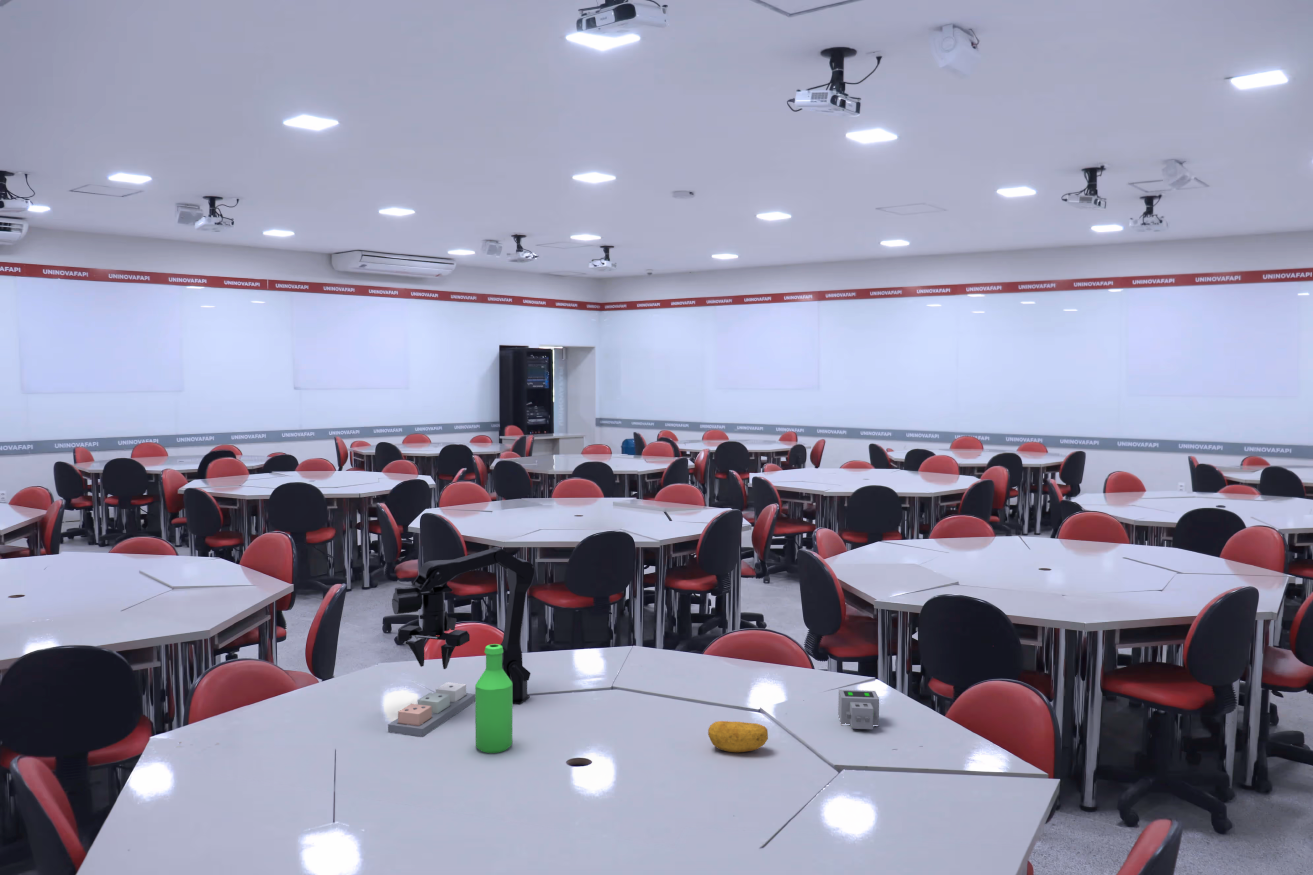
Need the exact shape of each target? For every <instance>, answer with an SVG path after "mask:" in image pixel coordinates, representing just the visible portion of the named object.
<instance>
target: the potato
mask: <svg viewBox="0 0 1313 875" xmlns="http://www.w3.org/2000/svg"><path fill="white" fill-rule="evenodd" d="M707 731H708V732H707V734H708V737H709V740H710V742H711V744H712V745H713V746H714V747H715V748H717V749H718V750H721V751H724V752H728V753H745V752H751V751H756V750H758V749H760V748H762V747H763V746H765V744H766V742H768V740H769V735H768V728H767V727H766V726H765V725H762V724H760V723H753V722H744V721H728V720H727V721H726V720H725V721H723V720H720V721H719V720H717V721H714V722H713V723H712V724H710V726H709V727H708V729H707Z"/></svg>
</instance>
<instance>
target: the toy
mask: <svg viewBox="0 0 1313 875" xmlns="http://www.w3.org/2000/svg"><path fill="white" fill-rule="evenodd" d="M837 703H838V704H837V705H838V706H837V708H838V709H837V710H838V712H837V713H838V714H837V716H838V715H839V717H838V719H839V718H840V720H839V723H840V722H841V723H840V725H841V724H845V723H846V724H850V725H851V726H850V728H851V729H858V730H874V727H873V725H880V724H879V723H880V698H879V695H878V694H877V692H876V690H863V689H862V690H861V689H860V690H859V689H838V702H837Z"/></svg>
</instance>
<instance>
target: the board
mask: <svg viewBox="0 0 1313 875" xmlns="http://www.w3.org/2000/svg"><path fill="white" fill-rule="evenodd" d="M474 702H475V693H469V692H466V695H465V696H464V697H462V698H461V699H459V700H458V701H456V702H450V706H449V707H447V708H446V709H444V710H442V711H441V712H439V713H438V714H437V713H432V718H430V719H429V720H427V721H426V722H424V723H423V724H421V725H420V726H416V725H408V724H401V723H398V718H396V719H394V720H393V721H391V722H389V723H388V724H387V732H388V733H393V734H398V735H399V734H400V735H405V736H406V735H407V736H415V737H425V736H427V735H428V734H429V733H431V732H432V731H433V730H435V729H436V728H439V726H441V725H443V724H444V723H445V722H447V721H448V720H450V719H451V718H453V717H454V716H456V715H457V714H458V713H460V712H461V711H462V710H464V709H466V708H468V707H469V706H470V705H472V704H473V703H474Z"/></svg>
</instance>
